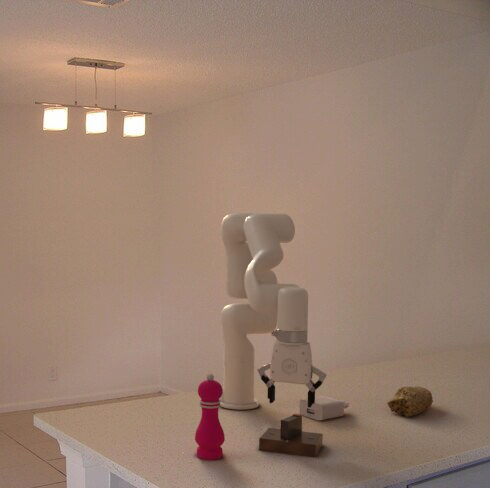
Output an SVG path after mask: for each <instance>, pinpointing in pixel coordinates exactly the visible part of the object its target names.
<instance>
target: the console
mask: <svg viewBox="0 0 490 488" xmlns="http://www.w3.org/2000/svg"><path fill="white" fill-rule="evenodd" d="M280 432H281V428H276V427H268V428H267V429H266V430H265V431H264V432H263V434H261V435H260V436H259V438H258V450H259V451H263V452H264V451H265V452H272V453H280V454H281V453H282V454H287V455H288V454H289V455H296V456H305V457H313V458H316V457H317V455H318V454H319V452H320V450H321V448H322V447H323V440H324V439H323V437H324V436H323V435H324V434H323V433H319V432H310V431H303V430H302V434H299V435H297V436H295V437H293V438H290V439H283V438H280Z"/></svg>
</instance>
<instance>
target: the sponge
mask: <svg viewBox="0 0 490 488" xmlns="http://www.w3.org/2000/svg"><path fill="white" fill-rule="evenodd" d="M433 403H434V401H433V394H432V392H431V391H430V390H429V389H427V388H425V387H422V386H401V387H399V388H398V389H397V390H396V393H394V397H392V398H391V399H390V400H389V401H387V403H386V404H387V406H388V408H389V409H390V411H391V412H393V413H395V414H397V415H403V416H405V417H413V416H416V415H420V414H421V413H422V412H423V411H426V410H427V409H429V408H431V406H432V405H433Z"/></svg>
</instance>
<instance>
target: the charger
mask: <svg viewBox="0 0 490 488" xmlns="http://www.w3.org/2000/svg"><path fill="white" fill-rule="evenodd" d="M349 405H350V402H346V401H345V400H341V399H337V398H334V397H331V396H327V395H319V396H315V403H314V404H312V406H311V408H310V407H308V397H307V398H302V399H300V400H299V415H301V416H302V417H306V418H310V419H313V420H315V421H325V420H329V419H335V418H340V417H343V416H344V413H345V412H344V411H345V409H347V408H349Z"/></svg>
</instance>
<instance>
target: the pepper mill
mask: <svg viewBox="0 0 490 488" xmlns="http://www.w3.org/2000/svg"><path fill="white" fill-rule="evenodd" d="M222 386H223V385H221V383H220V382H219V381H218V380H215V376H214V374H213V373H208V374H207V375H206V380H202V382H200V384H199V385H198V387H197V395H198V397H199V398H200V399H199V407H201V418H200V420H199V423H198V426H197V427H196V430H195V434H194V441H195V443H196V445H198V447H197V448H196V457H198V458H199V459H201V460H207V461H208V460H211V461H212V460H218V459H222V457H223V454H224V453H223V452H224V451H223V447H221V446H223V444H224V443H225V440H226V439H225V432H224V429H223V427H222V425H221V421H220V418H219V408H220V407H221V406H220V400H219V399H220V397H221V396H222V393H223V390H222V389H223V387H222Z"/></svg>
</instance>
